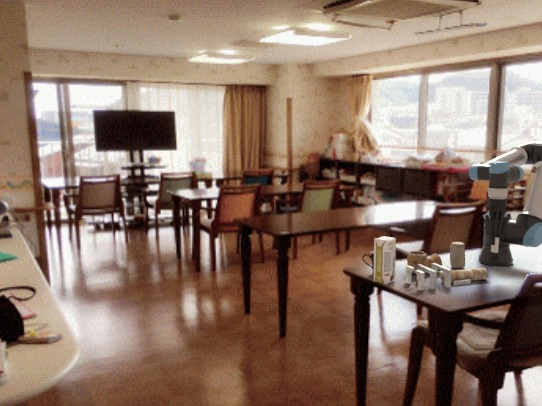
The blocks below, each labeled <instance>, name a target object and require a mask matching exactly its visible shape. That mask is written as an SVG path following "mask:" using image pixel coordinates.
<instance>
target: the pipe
mask: <svg viewBox="0 0 542 406" xmlns="http://www.w3.org/2000/svg"><path fill="white" fill-rule="evenodd" d="M406 261H407V265H409V266H412V267H414V268H415V270H417V265H418V264H421V265H423V266H426V267H428V268H430V269H431V266H432V263H436V264H439V265H441V266H443V260H442V258H441V256H440V255H439V254H438V253H432V254H431V256H430V257H428V254H427V253H426V252H424V251H422V250H411V251H409V252H408V254H407V258H406ZM407 265H406V266H407ZM415 270H414V271H412V273H411V274H415ZM423 272H425V271H423ZM437 272H442V271H441V270H439V269H437ZM425 273H426V272H425ZM415 275H416V274H415Z"/></svg>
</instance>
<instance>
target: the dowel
mask: <svg viewBox="0 0 542 406" xmlns="http://www.w3.org/2000/svg"><path fill="white" fill-rule="evenodd" d="M488 277H489V272H488V269H487V268H485V267H477V268H476V267H475V268H467V269H466V268H465V269H457V270H451V284H452V281H455V280H464V279H470V280H471V282H472V281H480V280H487V279H488ZM440 280H441V283H443V284H444V283H445V272H443V271H441V273H440Z"/></svg>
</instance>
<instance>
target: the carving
mask: <svg viewBox="0 0 542 406" xmlns="http://www.w3.org/2000/svg"><path fill="white" fill-rule="evenodd" d="M449 247H450V248H449V263H450V266H451V268H453V269H462V268H465V266H466V249H465V243H464V242H462V241H452V242H451V243H450V246H449Z"/></svg>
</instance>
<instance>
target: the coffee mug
mask: <svg viewBox="0 0 542 406" xmlns="http://www.w3.org/2000/svg"><path fill="white" fill-rule="evenodd" d="M366 256H367V257H369V258H370V260H371V264H369V263H368V262H367V261H365V259H364V258H365V257H366ZM362 261H363V262H364V264H366V265H367V266H368V267H370V268H371V269H372V275H374V250H372V251H370V254H369V253H368V254H363V255H362Z"/></svg>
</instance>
